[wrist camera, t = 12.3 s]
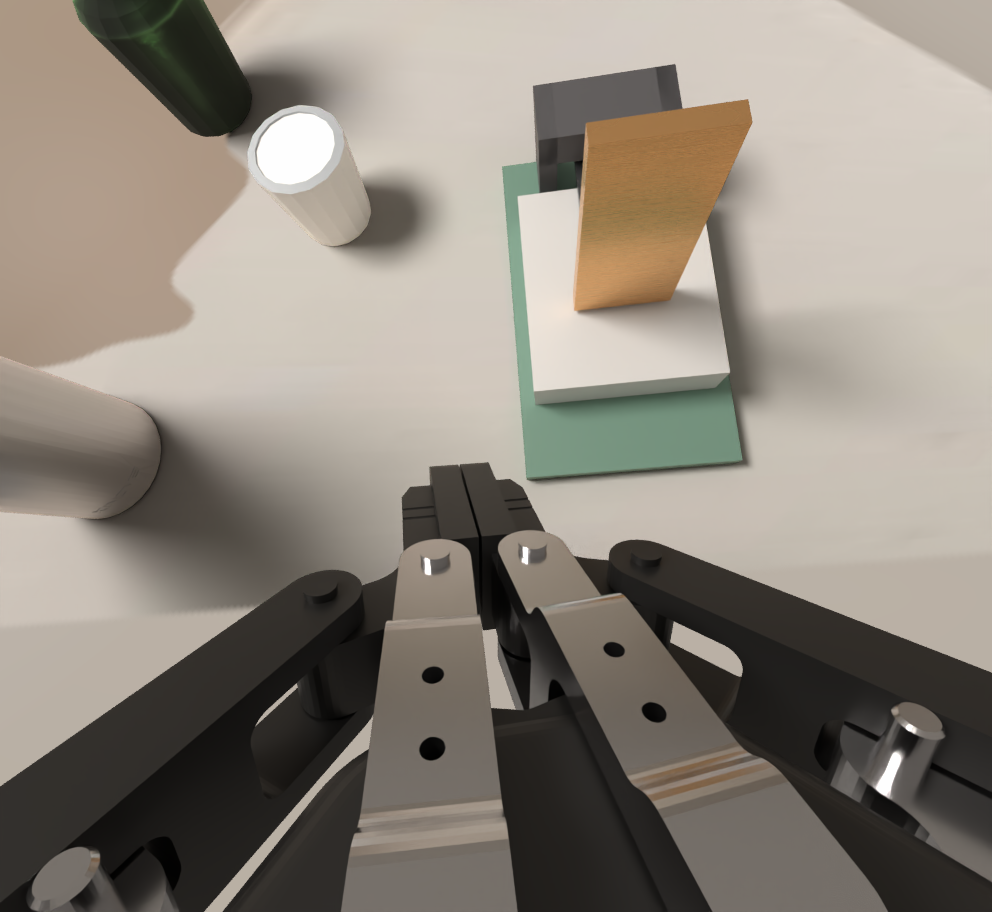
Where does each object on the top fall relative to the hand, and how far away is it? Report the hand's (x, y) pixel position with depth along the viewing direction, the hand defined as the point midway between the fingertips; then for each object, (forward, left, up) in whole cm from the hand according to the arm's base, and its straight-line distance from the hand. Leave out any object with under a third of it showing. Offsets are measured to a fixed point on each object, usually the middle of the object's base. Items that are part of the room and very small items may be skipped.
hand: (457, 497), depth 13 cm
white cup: (-27, +10, -23) cm, 37 cm away
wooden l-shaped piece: (-8, +20, -18) cm, 28 cm away
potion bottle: (-43, +11, -23) cm, 50 cm away
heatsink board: (-5, +17, -22) cm, 28 cm away
